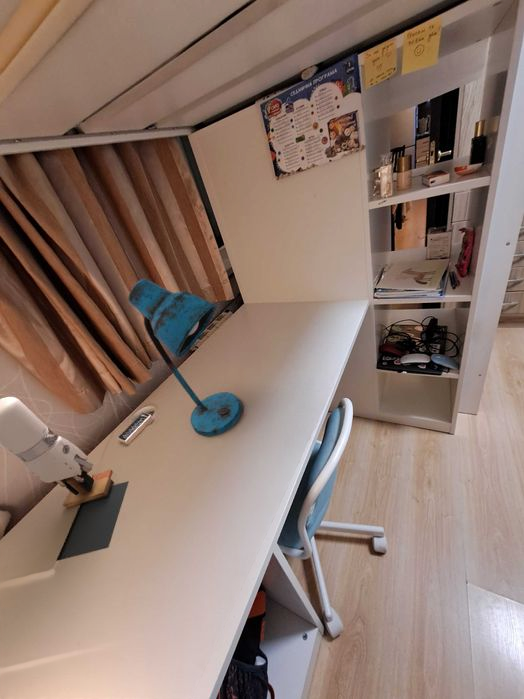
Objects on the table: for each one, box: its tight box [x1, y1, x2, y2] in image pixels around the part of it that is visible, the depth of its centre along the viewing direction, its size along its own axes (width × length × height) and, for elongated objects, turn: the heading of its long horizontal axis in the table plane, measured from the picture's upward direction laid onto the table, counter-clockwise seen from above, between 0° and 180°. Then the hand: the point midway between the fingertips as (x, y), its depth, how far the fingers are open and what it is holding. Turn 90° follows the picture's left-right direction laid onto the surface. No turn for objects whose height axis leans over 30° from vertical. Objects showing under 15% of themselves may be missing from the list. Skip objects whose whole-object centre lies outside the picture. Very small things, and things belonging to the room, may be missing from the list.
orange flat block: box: [91, 473, 99, 481], centre depth 80 cm, size 4×4×1 cm
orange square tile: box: [95, 469, 114, 481], centre depth 80 cm, size 4×4×1 cm
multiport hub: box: [117, 412, 155, 446], centre depth 93 cm, size 4×11×2 cm, turn 149°
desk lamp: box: [127, 278, 243, 437], centre depth 76 cm, size 16×22×45 cm
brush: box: [62, 477, 115, 509], centre depth 74 cm, size 11×4×9 cm, turn 99°
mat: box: [55, 480, 130, 562], centre depth 71 cm, size 20×16×1 cm
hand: (85, 487), depth 75 cm, fingers closed on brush, 2 cm apart
